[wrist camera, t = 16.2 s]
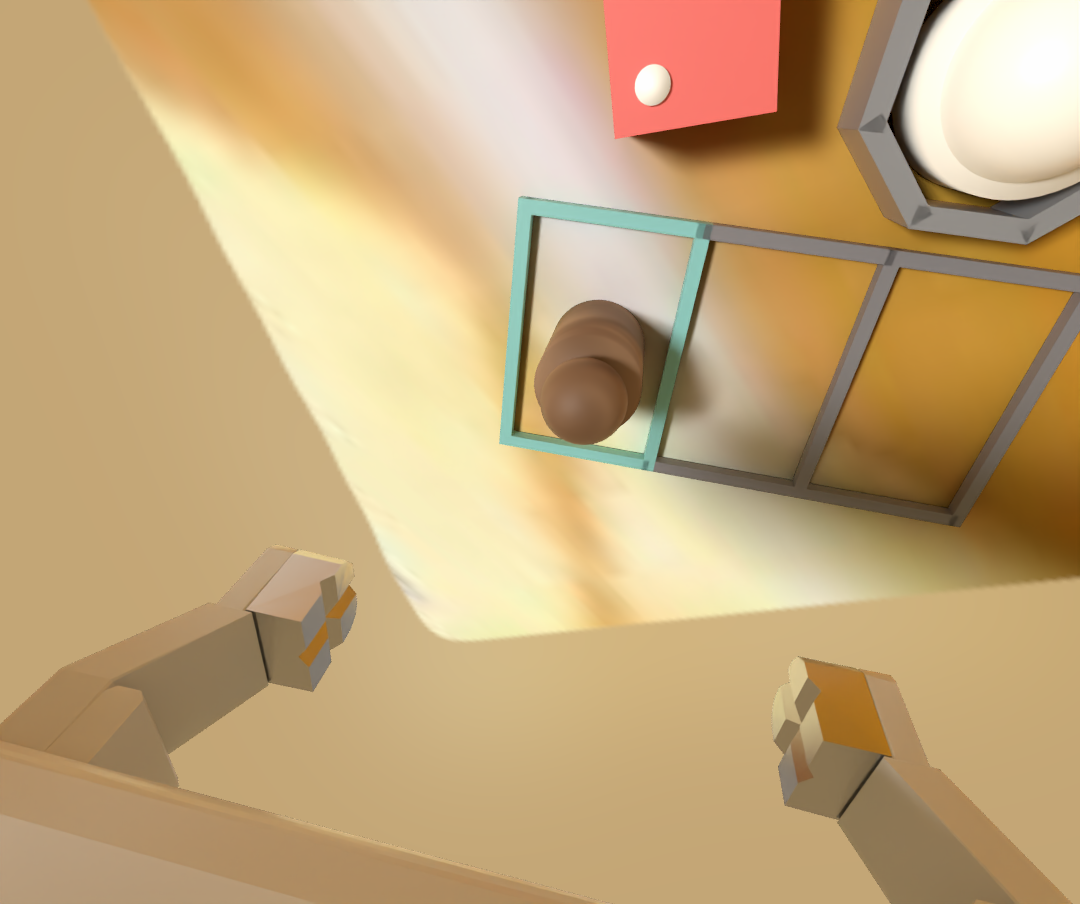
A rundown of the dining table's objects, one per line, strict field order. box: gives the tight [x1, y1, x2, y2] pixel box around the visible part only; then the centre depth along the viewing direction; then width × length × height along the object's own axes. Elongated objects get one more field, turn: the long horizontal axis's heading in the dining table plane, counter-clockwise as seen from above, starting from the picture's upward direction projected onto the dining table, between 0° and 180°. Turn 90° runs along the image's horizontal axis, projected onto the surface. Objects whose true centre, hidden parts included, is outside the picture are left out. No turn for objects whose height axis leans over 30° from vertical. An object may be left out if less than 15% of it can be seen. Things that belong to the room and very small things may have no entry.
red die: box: [603, 0, 781, 139], centre depth 20 cm, size 5×5×5 cm
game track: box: [499, 196, 1080, 527], centre depth 27 cm, size 23×12×1 cm, turn 84°
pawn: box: [534, 300, 644, 445], centre depth 25 cm, size 4×4×8 cm
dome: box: [892, 0, 1080, 200], centre depth 18 cm, size 7×7×6 cm
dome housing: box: [837, 0, 1080, 245], centre depth 19 cm, size 10×10×3 cm
